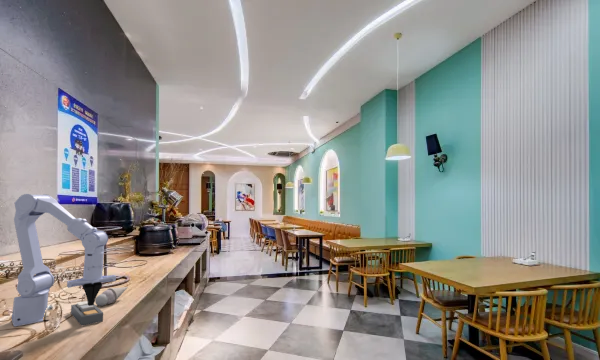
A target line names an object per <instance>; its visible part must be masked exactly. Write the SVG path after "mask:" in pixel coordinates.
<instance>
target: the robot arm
mask: <svg viewBox="0 0 600 360" xmlns="http://www.w3.org/2000/svg"><path fill="white" fill-rule="evenodd" d="M14 208H15V212H14V217H13V222H14V223H13V224H14V227H15V232H16V238H17V243H18V249H19V253H20V258H21V263H22V268H23V269H22V270H21V271H20V273H19V274H18V275H17V281H18V282H17V284H16V290H17V292H18V294H19V296H15V297H14V298H13V303H12V304H13V305H12V314H11V322H12V325H13V327H15V328H16V327H20V326H24V325H30V324H34V323H40V322H41V323H42V322H44V321H43V317H44V313H45V310H46V308H47V309H48V305H49V303H48V301H49V292H51V291H50V290H51V289H50V288H52V287H53V286H54V284H55V277H54V275H53V274H52V272H51V270H50V267H49V266H47V265H45V264H44V260H43V256H42V250H41V246H40V242H39V241H40V240H39V236H38V231H37V225H36V221H37V220H38V219H39V218H40V217H41V216H42V215H43V216H44V215H45V214H49V215H51V216H53V217H54V218H55V219H57V220H59V221H60V222H62V223H63V224H65V225H66V226H67V231H68V232H69V233H70V234H71V235H73V236H75V237H76V238H77V239H78V240H79V241H81V245H82V247H83V248H84V263H83V275H82V278H78V279H73V280H67V282H66V287H67V288H68V289H70V288H74V287H80V286H82V289H83V291H84V293H85V296H86V301H88V305H89V306H92V305H95V299H96V297H97V296H98V295H99V292H100V291H101V289H102V287H103V284H102V283H108V282H116V279H117V276H116V275H115V274H110V275H103V272H104V271H103V269H104V268H103V267H104V256H105V255H104V254H105V246H106V244H108V242H109V236H108V234H107V233H106V231H104V230H98V228H97V227H94V226H92V225H91V224H90V223H89V222H88V220H87V219H86V218H81V217H79V218H78V217H77V218H76V217H75V216H74V215H73V214H72V213H71V212H69V211H68V210H67V209H66V208H65V207H63V206H62V205H61V204H60V203H59V202H58V200H57V199H56V198H54V197H53V196H51V195H49V194H45V193H43V194H35V193H34V194H31V193H24V194H21V195H20V196H19V197H17V199H16V201H15V202H14Z"/></svg>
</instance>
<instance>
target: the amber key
mask: <svg viewBox="0 0 600 360" xmlns="http://www.w3.org/2000/svg"><path fill="white" fill-rule="evenodd" d="M95 313H98V312H97V311H96V310H91V311H86V312H83V314H84V315H90V314H95Z"/></svg>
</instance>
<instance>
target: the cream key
mask: <svg viewBox="0 0 600 360" xmlns="http://www.w3.org/2000/svg"><path fill="white" fill-rule="evenodd" d="M76 304H77V307H78V308H80V306H83V305H88V301H87V300H84V301H79V302H78V301H77V302H76Z"/></svg>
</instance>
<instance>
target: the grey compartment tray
mask: <svg viewBox="0 0 600 360" xmlns="http://www.w3.org/2000/svg"><path fill="white" fill-rule="evenodd" d="M93 306H94V309H93V310H96V311H97V312H98V313H95V314H90V315H84V314H83V312H86V311H81V310H80V308H78V307H77V303H76V304H71V306H70V314H71V316H73V318H74V319H75V320H76V321H77V322H78V324H79V325H80V326H81V327H84V326H88V325H93V324H96V323H101V322H103V321H104V312H103V310H101V309H100V308H99V306H98V305H97V304H96V305H95V304H94V305H93ZM87 311H91V310H87Z"/></svg>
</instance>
